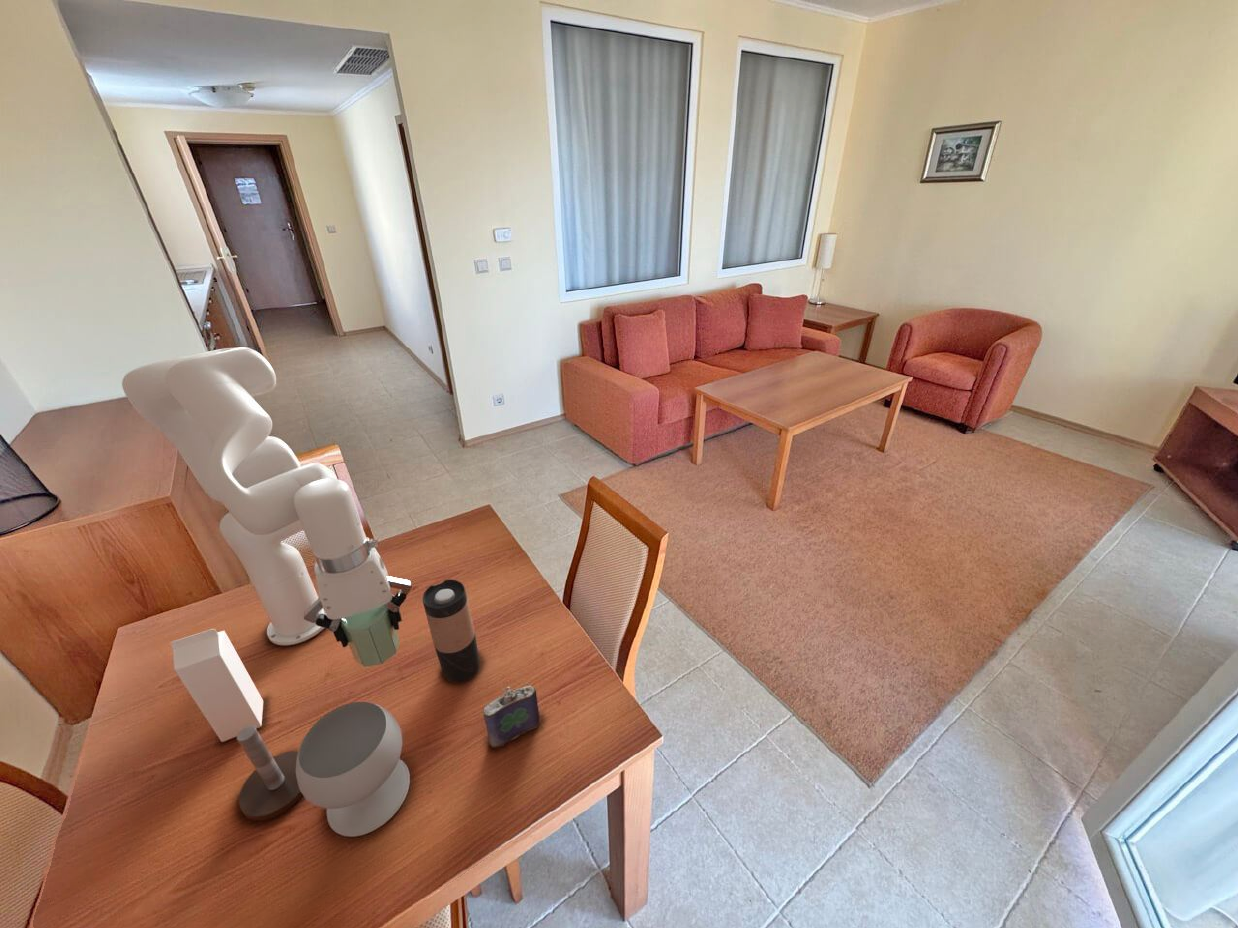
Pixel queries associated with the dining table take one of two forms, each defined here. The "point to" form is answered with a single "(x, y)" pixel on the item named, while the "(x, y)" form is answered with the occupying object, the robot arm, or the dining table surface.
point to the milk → (218, 682)
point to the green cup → (371, 636)
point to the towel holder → (267, 779)
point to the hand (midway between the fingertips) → (371, 632)
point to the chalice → (354, 767)
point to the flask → (511, 715)
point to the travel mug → (452, 630)
